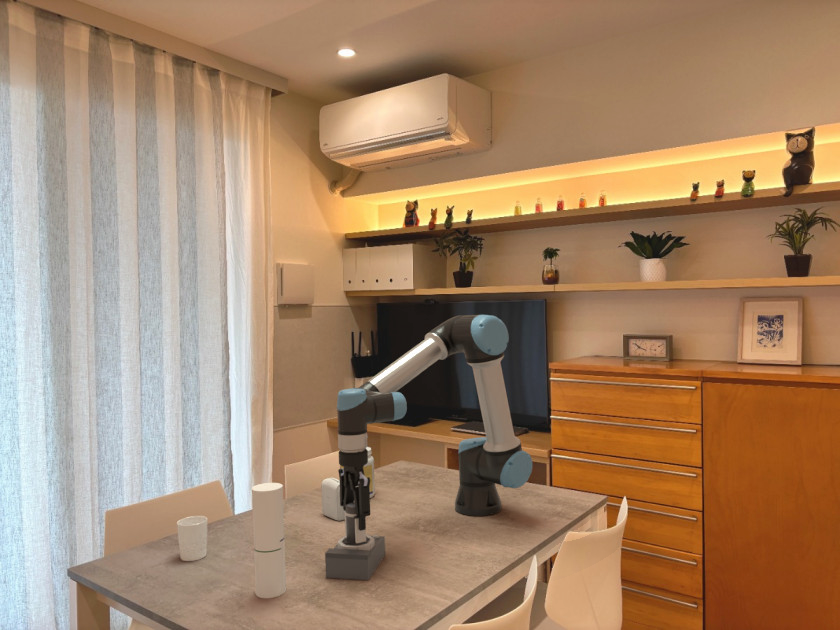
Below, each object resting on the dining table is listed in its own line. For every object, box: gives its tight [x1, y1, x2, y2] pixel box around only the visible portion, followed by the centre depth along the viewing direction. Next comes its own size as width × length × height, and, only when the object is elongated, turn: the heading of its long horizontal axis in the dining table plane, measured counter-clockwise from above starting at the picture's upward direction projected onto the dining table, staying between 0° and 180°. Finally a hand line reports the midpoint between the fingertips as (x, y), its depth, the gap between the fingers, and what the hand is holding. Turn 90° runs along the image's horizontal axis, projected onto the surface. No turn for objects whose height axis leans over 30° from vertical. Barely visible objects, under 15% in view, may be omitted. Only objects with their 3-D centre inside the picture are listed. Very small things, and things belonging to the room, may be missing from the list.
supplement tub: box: [339, 446, 376, 499], centre depth 222 cm, size 12×12×17 cm
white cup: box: [176, 515, 208, 562], centre depth 171 cm, size 8×8×10 cm
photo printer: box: [321, 477, 345, 522], centre depth 201 cm, size 10×4×12 cm, turn 39°
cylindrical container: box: [251, 482, 287, 599], centre depth 148 cm, size 7×7×25 cm
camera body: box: [324, 533, 386, 581], centre depth 162 cm, size 16×11×7 cm
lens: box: [346, 501, 356, 543], centre depth 162 cm, size 5×5×9 cm
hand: (355, 538), depth 162 cm, fingers closed on lens, 5 cm apart
